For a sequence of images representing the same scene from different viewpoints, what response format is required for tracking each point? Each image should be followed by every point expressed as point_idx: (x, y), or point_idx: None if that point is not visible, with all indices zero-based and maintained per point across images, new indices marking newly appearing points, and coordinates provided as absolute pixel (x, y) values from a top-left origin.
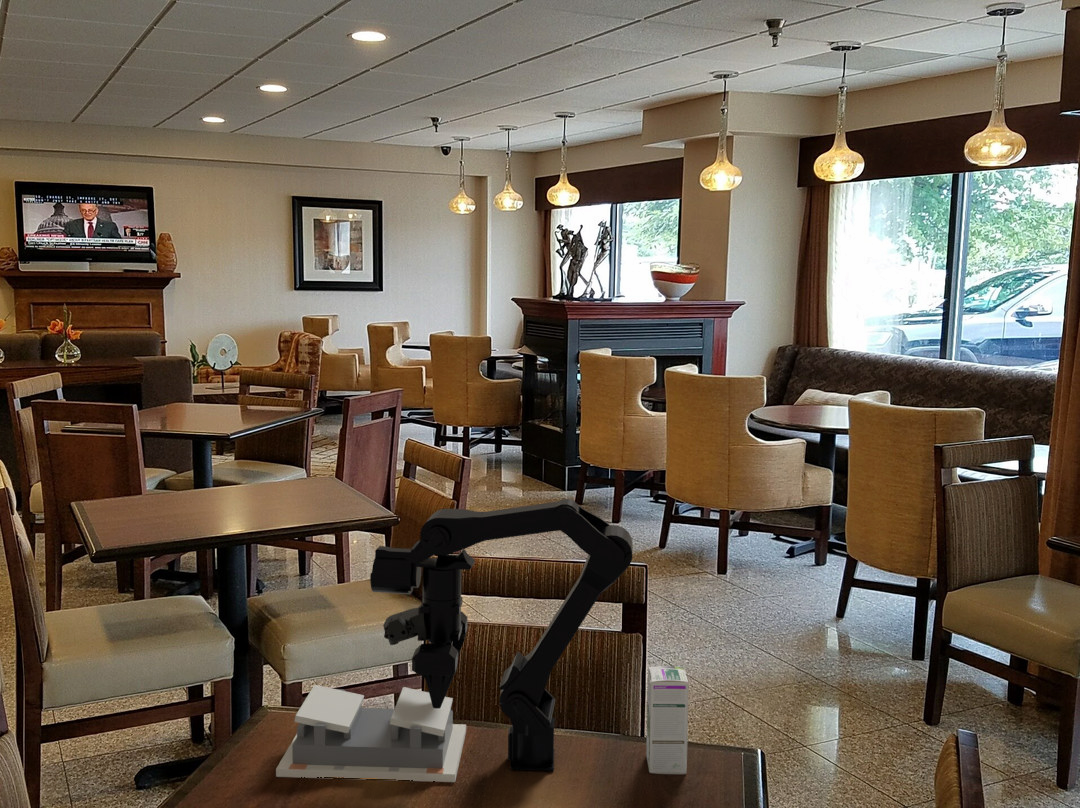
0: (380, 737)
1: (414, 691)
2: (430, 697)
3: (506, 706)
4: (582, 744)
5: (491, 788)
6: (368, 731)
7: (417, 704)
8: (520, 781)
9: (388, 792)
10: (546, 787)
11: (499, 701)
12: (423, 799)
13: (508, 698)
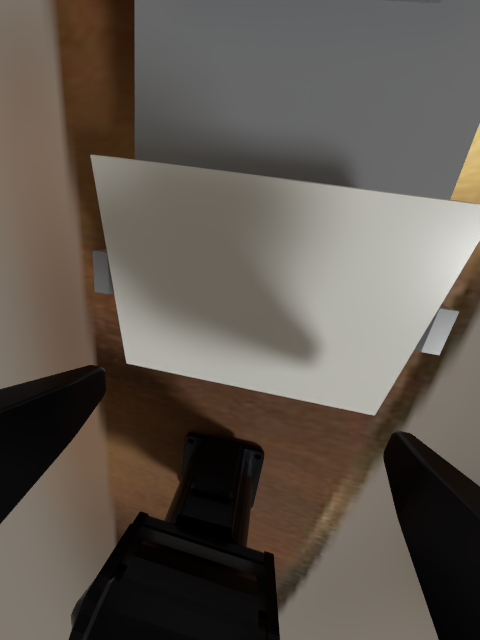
0: (205, 136)
1: (431, 274)
2: (17, 385)
3: (96, 584)
4: (273, 541)
5: (130, 392)
6: (259, 73)
7: (282, 285)
8: (154, 436)
9: None
10: (138, 465)
11: (107, 586)
12: (82, 273)
13: (73, 629)
